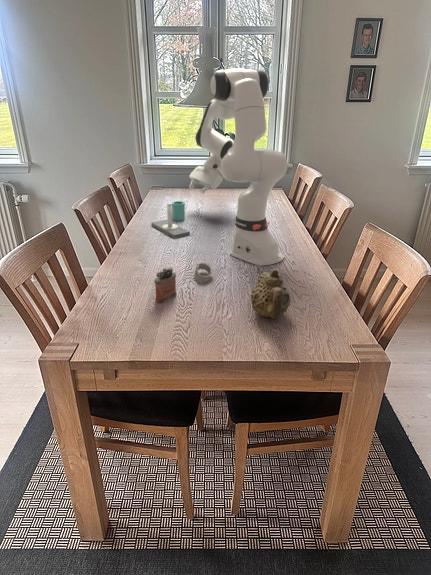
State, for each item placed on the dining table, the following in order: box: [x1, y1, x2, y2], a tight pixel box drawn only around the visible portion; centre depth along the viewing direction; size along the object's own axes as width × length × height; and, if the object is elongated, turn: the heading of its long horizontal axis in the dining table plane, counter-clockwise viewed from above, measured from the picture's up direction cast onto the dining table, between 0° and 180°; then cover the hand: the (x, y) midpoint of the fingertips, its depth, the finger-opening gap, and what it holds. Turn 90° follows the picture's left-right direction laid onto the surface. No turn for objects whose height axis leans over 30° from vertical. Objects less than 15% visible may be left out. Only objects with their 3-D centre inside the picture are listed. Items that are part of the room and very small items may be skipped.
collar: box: [171, 200, 186, 222], centre depth 199 cm, size 6×6×8 cm
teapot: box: [250, 268, 292, 320], centre depth 119 cm, size 21×12×15 cm, turn 4°
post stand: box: [150, 202, 191, 239], centre depth 183 cm, size 20×8×13 cm, turn 37°
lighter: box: [153, 267, 177, 304], centre depth 127 cm, size 8×3×10 cm, turn 141°
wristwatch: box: [193, 262, 213, 283], centre depth 143 cm, size 9×6×5 cm
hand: (195, 190), depth 201 cm, fingers open, 8 cm apart
